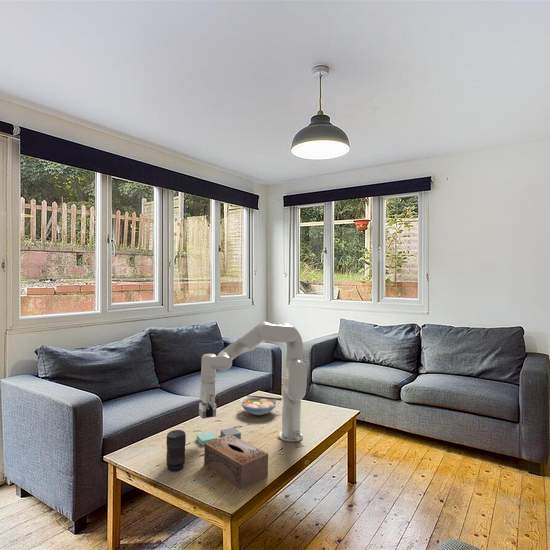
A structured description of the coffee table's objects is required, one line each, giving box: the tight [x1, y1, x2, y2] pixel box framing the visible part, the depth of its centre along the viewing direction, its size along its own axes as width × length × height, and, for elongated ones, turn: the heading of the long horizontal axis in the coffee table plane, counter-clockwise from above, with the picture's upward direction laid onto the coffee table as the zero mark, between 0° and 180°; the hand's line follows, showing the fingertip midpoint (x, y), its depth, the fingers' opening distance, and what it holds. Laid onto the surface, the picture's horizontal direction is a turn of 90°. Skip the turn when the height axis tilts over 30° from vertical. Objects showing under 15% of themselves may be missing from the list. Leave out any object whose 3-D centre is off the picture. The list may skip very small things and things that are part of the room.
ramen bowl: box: [239, 394, 283, 416], centre depth 234 cm, size 25×23×8 cm
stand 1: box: [196, 431, 218, 447], centre depth 195 cm, size 8×8×2 cm
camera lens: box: [166, 429, 187, 472], centre depth 168 cm, size 8×8×15 cm
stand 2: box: [220, 427, 242, 439], centre depth 201 cm, size 8×8×2 cm
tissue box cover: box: [203, 434, 269, 490], centre depth 167 cm, size 26×14×10 cm, turn 45°
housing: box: [198, 401, 217, 420], centre depth 194 cm, size 7×6×6 cm
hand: (207, 414), depth 194 cm, fingers closed on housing, 5 cm apart
